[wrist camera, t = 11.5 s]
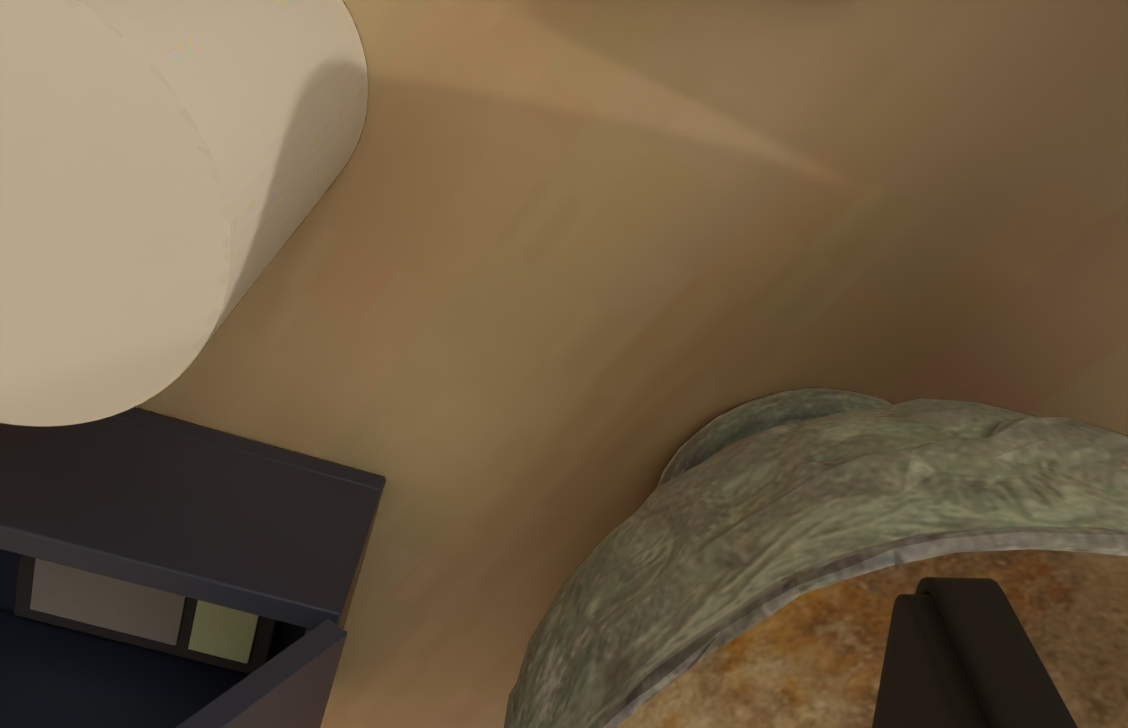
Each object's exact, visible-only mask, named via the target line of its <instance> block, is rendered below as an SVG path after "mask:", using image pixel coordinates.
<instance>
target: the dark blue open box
mask: <svg viewBox="0 0 1128 728" xmlns="http://www.w3.org/2000/svg"><path fill="white" fill-rule="evenodd" d="M385 481H386V479H385V477H383V476H379V475H376V474H372V473H368V472H365V471H361V470H357V469H354V468H350V467H347V466H343V465H339V464H336V463H332V462H329V461H325V460H321V459H318V458H314V457H311V456H307V455H303V454H300V453H296V452H293V451H289V450H285V449H282V448H278V447H274V446H271V445H267V444H264V443H260V442H256V441H253V440H249V439H246V438H242V437H238V436H235V435H231V434H228V433H224V432H220V431H217V430H213V429H209V428H206V427H202V426H199V425H195V424H191V423H188V422H184V421H181V420H177V419H173V418H170V417H166V416H163V415H159V414H155V413H152V412H148V411H145V410H141V409H137V408H134V407H133V408H131V409H129V410H126V411H124V412H121V413H119V414H116V415H113V416H110V417H106V418H103V419H100V420H95V421H91V422H86V423H80V424H73V425H64V426H23V425H12V424H5V423H0V728H175V727H177V726H178V725H180V724H181V723H182V722H184V721H185V720H187V719H188V718H189V717H191V716H192V715H194V714H195V713H196V712H198V711H199V710H201V709H202V708H203V707H205V706H206V705H208V704H209V703H210V702H212V701H213V700H215V699H216V698H217V697H219V696H220V695H222V694H223V693H224V692H226V691H227V690H229V689H230V688H231V687H233V686H234V685H236V684H237V683H238V682H240V681H241V680H243V679H244V678H245V677H247V676H248V675H250V674H247V673H243V672H239V671H235V670H231V669H227V668H223V667H219V666H215V665H211V664H207V663H203V662H199V661H195V660H191V659H187V658H183V657H179V656H175V655H171V654H167V653H163V652H159V651H155V650H152V649H148V648H144V647H140V646H136V645H132V644H128V643H124V642H120V641H116V640H112V639H108V638H104V637H100V636H96V635H92V634H88V633H84V632H80V631H76V630H72V629H68V628H64V627H60V626H56V625H52V624H48V623H44V622H40V621H36V620H32V619H28V618H24V617H20V616H16V615H14V614H13V610H14V600H15V590H16V580H17V570H18V560H19V554H22V555H26V556H30V557H34V558H37V559H41V560H45V561H49V562H53V563H57V564H61V565H65V566H68V567H72V568H76V569H80V570H84V571H88V572H92V573H96V574H99V575H103V576H107V577H111V578H115V579H119V580H123V581H127V582H130V583H134V584H138V585H142V586H146V587H150V588H154V589H158V590H161V591H165V592H169V593H173V594H177V595H181V596H185V597H189V598H192V599H196V600H200V601H204V602H208V603H212V604H216V605H220V606H223V607H227V608H231V609H235V610H239V611H243V612H247V613H251V614H254V615H258V616H262V617H266V618H270V619H274V620H278V621H280V624H279V628H278V632H277V636H276V640H275V644H274V648H273V652H272V656H271V659H272V658H273V657H275V656H276V655H278V654H279V653H280V652H282V651H283V650H285V649H286V648H287V647H289V646H290V645H292V644H293V643H294V642H296V641H297V640H299V639H300V638H301V637H303V636H304V635H306V634H307V633H308V632H310V631H311V630H313V629H314V628H315V627H317V626H318V625H320V624H321V623H322V622H324V621H325V620H327V619H329V620H331V621H332V622H334V623H335V624H337V625H338V626H339V627H341V628H342V629H344V625H345V622H346V618H347V615H348V611H349V608H350V604H351V601H352V597H353V594H354V590H355V587H356V583H357V580H358V576H359V573H360V569H361V566H362V562H363V559H364V555H365V551H366V548H367V544H368V541H369V537H370V534H371V530H372V527H373V523H374V520H375V516H376V513H377V509H378V506H379V502H380V499H381V495H382V492H383V488H384V485H385ZM271 659H270V660H271Z"/></svg>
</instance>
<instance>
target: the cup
mask: <svg viewBox="0 0 1128 728" xmlns="http://www.w3.org/2000/svg"><path fill="white" fill-rule="evenodd" d="M367 102H368V76H367V67H366V61H365V56H364V51H363V47H362V44H361V41H360V37H359V34H358V32H357V29H356V27H355V24H354V22H353V19H352V17H351V15H350V13H349V11H348V9H347V8H346V6H345V4H344V2H343V1H342V0H0V423H5V424H12V425H23V426H64V425H73V424H80V423H86V422H91V421H95V420H100V419H103V418H106V417H110V416H113V415H116V414H119V413H121V412H124V411H126V410H129V409H131V408H133V407H135V406H137V405H139V404H141V403H143V402H145V401H146V400H148V399H150V398H151V397H153V396H155V395H156V394H158V393H159V392H160V391H162V390H163V389H164V388H166V387H167V386H169V385H170V384H171V383H172V382H173V381H174V380H175V379H176V378H178V377H179V376H180V375H181V374H182V373H183V372H184V371H185V370H186V368H187V367H188V366H189V365H190V364H191V363H192V362H193V360H194V359H195V358H196V357H197V355H198V354H199V353H200V351H201V350H202V349H203V348H204V346H205V345H206V344H207V342H208V341H209V340H210V339H211V337H212V336H213V335H214V334H215V332H216V331H217V330H218V328H219V327H220V326H221V325H222V323H223V322H224V321H225V319H226V318H227V317H228V316H229V314H230V313H231V312H232V311H233V309H234V308H235V307H236V305H237V304H238V303H239V302H240V300H241V299H242V298H243V296H244V295H245V294H246V293H247V291H248V290H249V289H250V288H251V286H252V285H253V284H254V282H255V281H256V280H257V279H258V277H259V276H260V275H261V273H262V272H263V271H264V270H265V268H266V267H267V266H268V265H269V263H270V262H271V261H272V259H273V258H274V257H275V256H276V254H277V253H278V252H279V250H280V249H281V248H282V247H283V245H284V244H285V243H286V242H287V240H288V239H289V238H290V236H291V235H292V234H293V233H294V231H295V230H296V229H297V227H298V226H299V225H300V224H301V222H302V221H303V220H304V219H305V217H306V216H307V215H308V213H309V212H310V211H311V210H312V208H313V207H314V206H315V204H316V203H317V202H318V201H319V199H320V198H321V197H322V196H323V194H324V193H325V192H326V190H327V189H328V188H329V187H330V185H331V184H332V183H333V181H334V180H335V179H336V178H337V176H338V175H339V174H340V172H341V171H342V170H343V169H344V167H345V166H346V164H347V163H348V161H349V159H350V158H351V156H352V154H353V152H354V150H355V148H356V146H357V143H358V141H359V139H360V136H361V132H362V129H363V126H364V121H365V117H366V111H367Z"/></svg>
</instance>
